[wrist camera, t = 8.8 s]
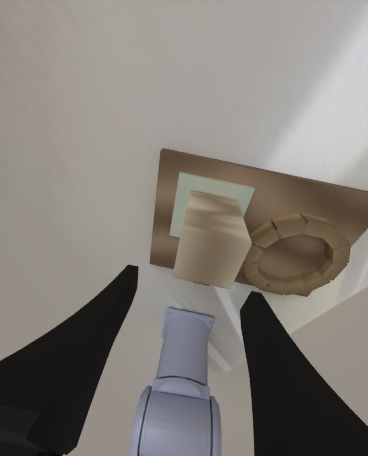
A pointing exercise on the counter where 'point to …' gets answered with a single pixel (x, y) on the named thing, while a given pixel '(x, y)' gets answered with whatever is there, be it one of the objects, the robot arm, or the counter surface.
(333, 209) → the base board
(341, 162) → the counter surface
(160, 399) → the robot arm
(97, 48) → the counter surface
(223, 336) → the counter surface
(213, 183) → the sage pad
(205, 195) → the peg
